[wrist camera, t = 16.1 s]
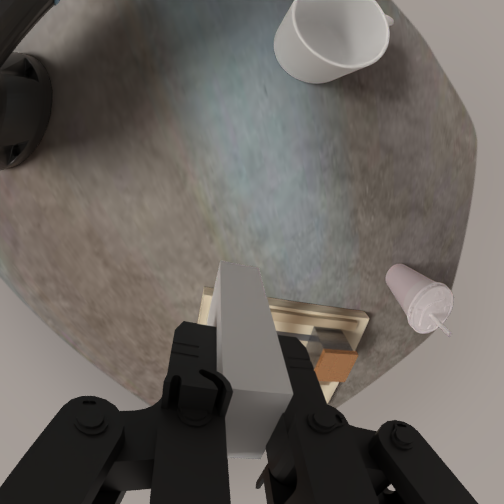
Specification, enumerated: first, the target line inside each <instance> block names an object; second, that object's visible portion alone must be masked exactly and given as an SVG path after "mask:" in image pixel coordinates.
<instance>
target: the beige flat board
mask: <svg viewBox="0 0 504 504" xmlns="http://www.w3.org/2000/svg"><path fill="white" fill-rule="evenodd" d="M213 291H214V288H209V287H204V291H203V296H202V302H201V307H200V313H199V318H198V324H202V325H207V319H208V314H209V310H210V305H211V300H212V296H213ZM267 299H268V303H269V307H270V310H271V314H272V318H273V321H274V325H275V329H276V332H277V335H283V336H291V337H297V338H298V339H299V341H300V342H301V343H302V344H303V345H304V346H305V347H306V345H307V343H308V340H309V338H310V335H311V333H312V330H313V327H314V326H315V327H324V328H333V329H342V331H343V333H344V335H345V337H346V338H347V340H348V342H349V344H350V346H351V347H352V349H353V351H355V350H356V347H357V345H358V343H359V341H360V339H361V337H362V335H363V332H364V330H365V328H366V326H367V323H368V321H369V317H368V316H367V314H366V313H365V312H364V311H359V310H351V309H344V308H337V307H329V306H322V305H315V304H308V303H302V302H295V301H288V300H282V299H275V298H269V297H267ZM319 383H320V386H321V389H322V391H323V394H324V397H325V400H326V402H327V404H328V402H329V400H330V399H331V397H332V395H333V393H334V391H335V389H336V387H337V386H338V384H339V382H328V381H319Z"/></svg>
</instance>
